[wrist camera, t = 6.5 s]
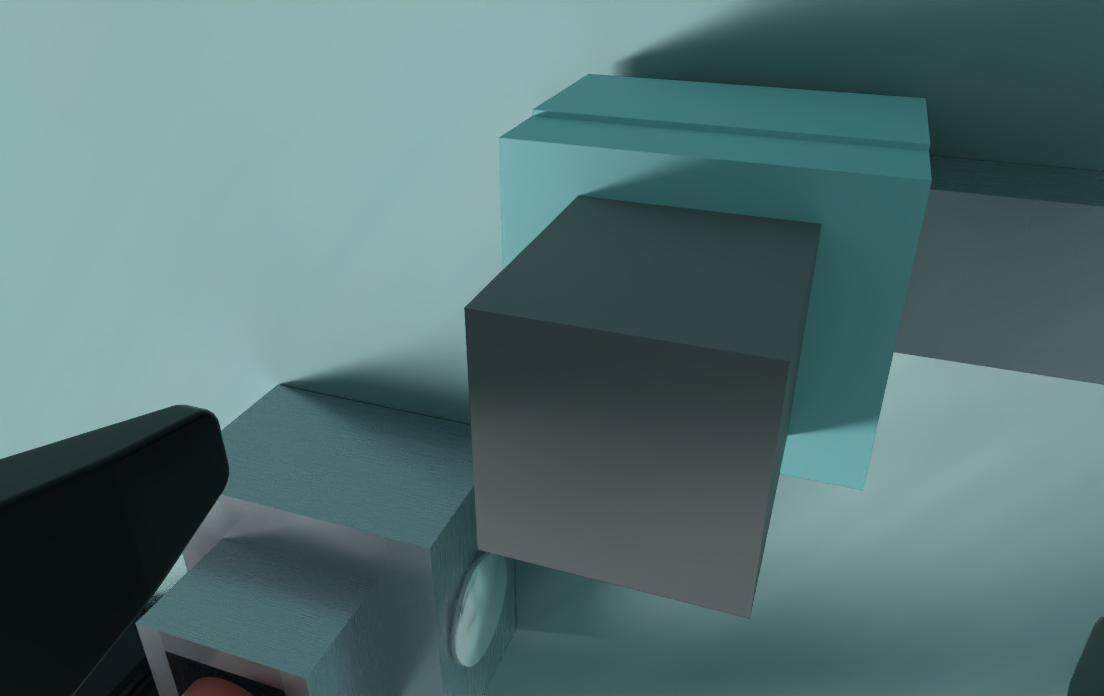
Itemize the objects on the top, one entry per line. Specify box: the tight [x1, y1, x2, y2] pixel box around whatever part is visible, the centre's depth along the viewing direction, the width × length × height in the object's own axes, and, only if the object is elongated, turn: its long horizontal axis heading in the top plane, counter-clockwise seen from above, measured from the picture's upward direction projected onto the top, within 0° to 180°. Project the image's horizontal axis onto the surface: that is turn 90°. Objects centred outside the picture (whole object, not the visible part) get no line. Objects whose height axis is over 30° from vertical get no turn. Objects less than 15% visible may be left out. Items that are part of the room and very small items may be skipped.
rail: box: [894, 156, 1104, 385], centre depth 15 cm, size 15×3×2 cm, turn 90°
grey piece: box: [136, 385, 516, 696], centre depth 21 cm, size 7×7×7 cm
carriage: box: [464, 74, 932, 619], centre depth 13 cm, size 6×5×8 cm
